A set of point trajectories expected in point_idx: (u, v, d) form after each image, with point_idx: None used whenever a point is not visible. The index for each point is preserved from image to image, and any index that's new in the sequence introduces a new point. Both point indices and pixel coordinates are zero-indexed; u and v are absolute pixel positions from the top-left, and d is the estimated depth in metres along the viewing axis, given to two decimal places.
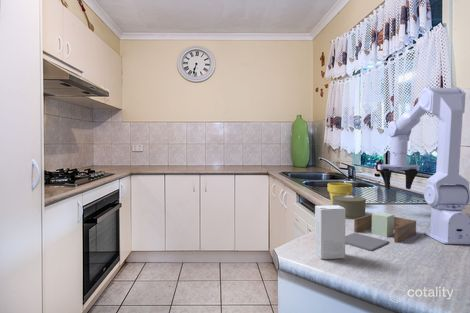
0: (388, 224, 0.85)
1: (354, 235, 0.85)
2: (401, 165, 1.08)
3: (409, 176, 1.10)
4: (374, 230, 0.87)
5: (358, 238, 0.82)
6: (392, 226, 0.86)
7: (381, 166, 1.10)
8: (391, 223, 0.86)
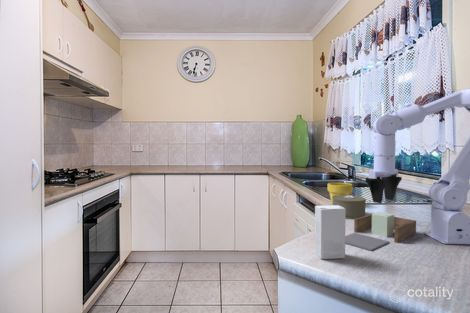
0: (388, 224, 0.85)
1: (354, 235, 0.85)
2: (393, 171, 0.85)
3: (392, 184, 0.89)
4: (374, 230, 0.87)
5: (358, 238, 0.82)
6: (392, 226, 0.86)
7: (376, 174, 0.82)
8: (391, 223, 0.86)
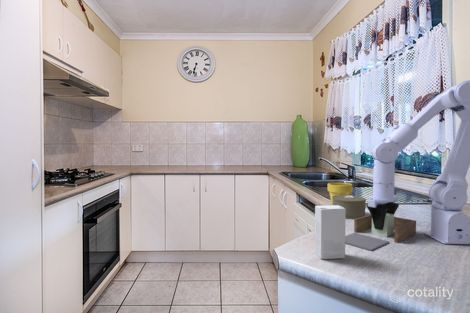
0: (388, 224, 0.85)
1: (354, 235, 0.85)
2: (393, 199, 0.85)
3: (389, 211, 0.88)
4: (374, 230, 0.87)
5: (358, 238, 0.82)
6: (392, 226, 0.86)
7: (375, 202, 0.82)
8: (391, 223, 0.86)
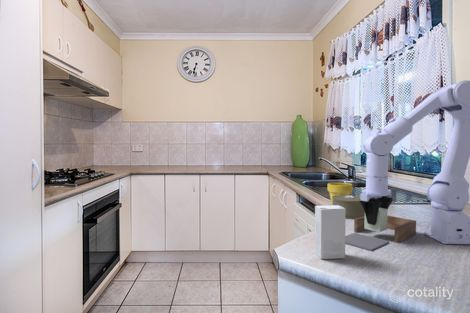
0: (381, 219, 0.82)
1: (354, 235, 0.85)
2: (386, 193, 0.82)
3: (383, 205, 0.86)
4: (367, 225, 0.85)
5: (358, 238, 0.82)
6: (385, 221, 0.84)
7: (368, 196, 0.80)
8: (384, 218, 0.84)
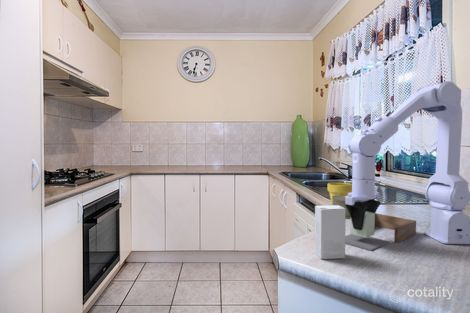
0: (368, 223, 0.78)
1: (354, 235, 0.85)
2: (373, 196, 0.77)
3: (370, 209, 0.81)
4: (353, 230, 0.80)
5: (358, 238, 0.82)
6: (372, 226, 0.79)
7: (353, 200, 0.75)
8: (371, 222, 0.79)
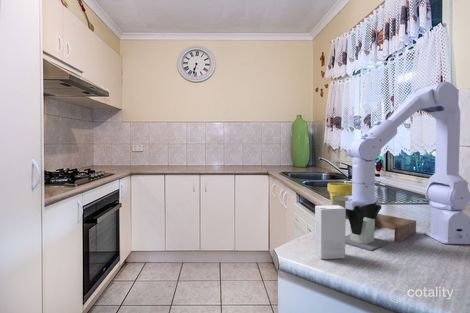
0: (368, 230, 0.78)
1: None
2: (373, 200, 0.77)
3: (371, 213, 0.81)
4: (353, 236, 0.80)
5: None
6: (372, 232, 0.79)
7: (353, 204, 0.75)
8: (371, 229, 0.79)
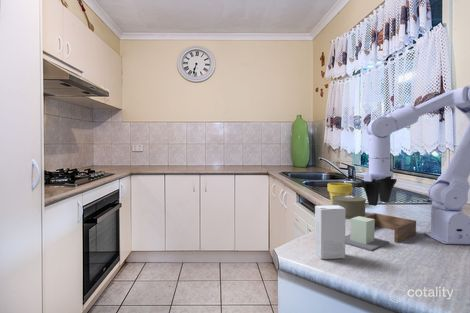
0: (368, 230, 0.78)
1: None
2: (389, 173, 0.84)
3: (387, 186, 0.88)
4: (353, 236, 0.80)
5: None
6: (372, 232, 0.79)
7: (371, 176, 0.82)
8: (371, 229, 0.79)
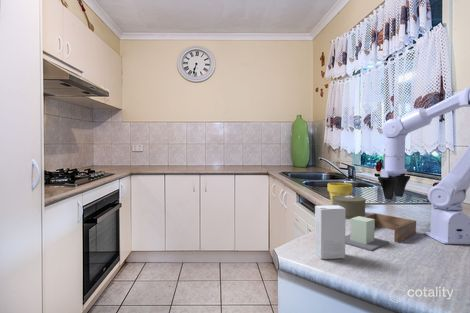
0: (368, 230, 0.78)
1: None
2: (403, 170, 0.93)
3: (401, 182, 0.97)
4: (353, 236, 0.80)
5: None
6: (372, 232, 0.79)
7: (388, 173, 0.90)
8: (371, 229, 0.79)
